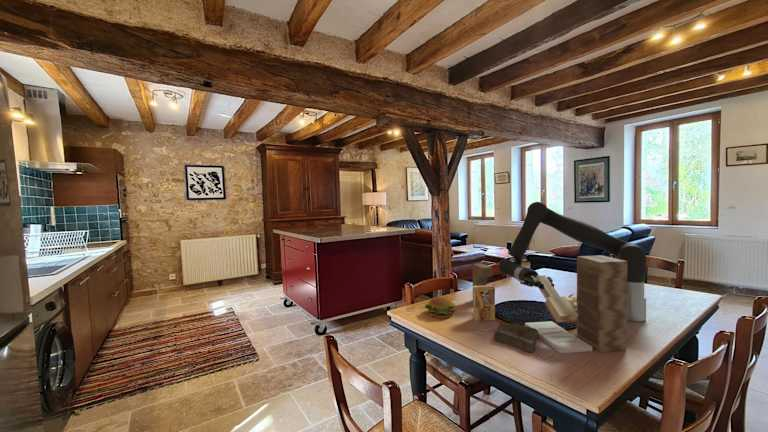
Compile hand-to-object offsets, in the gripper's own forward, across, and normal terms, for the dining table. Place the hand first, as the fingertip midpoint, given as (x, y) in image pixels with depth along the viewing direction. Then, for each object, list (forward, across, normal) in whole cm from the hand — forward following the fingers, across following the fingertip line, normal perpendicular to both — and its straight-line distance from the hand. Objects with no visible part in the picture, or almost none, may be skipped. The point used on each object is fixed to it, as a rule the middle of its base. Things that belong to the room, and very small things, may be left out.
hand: (548, 286), depth 128 cm
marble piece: (+5, -16, +20) cm, 26 cm away
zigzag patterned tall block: (+12, +13, +19) cm, 26 cm away
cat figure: (-28, +34, +20) cm, 49 cm away
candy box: (-17, -20, +20) cm, 33 cm away
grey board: (+5, 0, +19) cm, 20 cm away
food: (-27, -38, +20) cm, 51 cm away
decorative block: (-39, -12, +20) cm, 45 cm away
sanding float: (+2, 0, +5) cm, 6 cm away
